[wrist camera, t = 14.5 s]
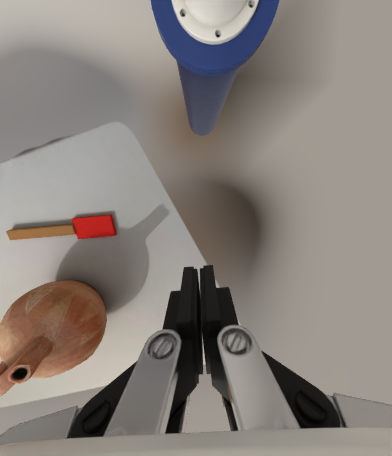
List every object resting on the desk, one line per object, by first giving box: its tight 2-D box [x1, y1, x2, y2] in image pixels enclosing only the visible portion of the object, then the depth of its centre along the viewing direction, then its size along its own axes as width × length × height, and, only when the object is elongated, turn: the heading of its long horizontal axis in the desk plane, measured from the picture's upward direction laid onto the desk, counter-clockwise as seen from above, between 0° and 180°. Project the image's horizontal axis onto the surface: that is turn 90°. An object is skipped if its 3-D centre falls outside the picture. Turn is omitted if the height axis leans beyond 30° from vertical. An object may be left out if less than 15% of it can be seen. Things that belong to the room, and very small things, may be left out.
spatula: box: [6, 215, 116, 240], centre depth 38 cm, size 4×22×1 cm, turn 95°
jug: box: [0, 280, 107, 396], centre depth 35 cm, size 18×18×20 cm
